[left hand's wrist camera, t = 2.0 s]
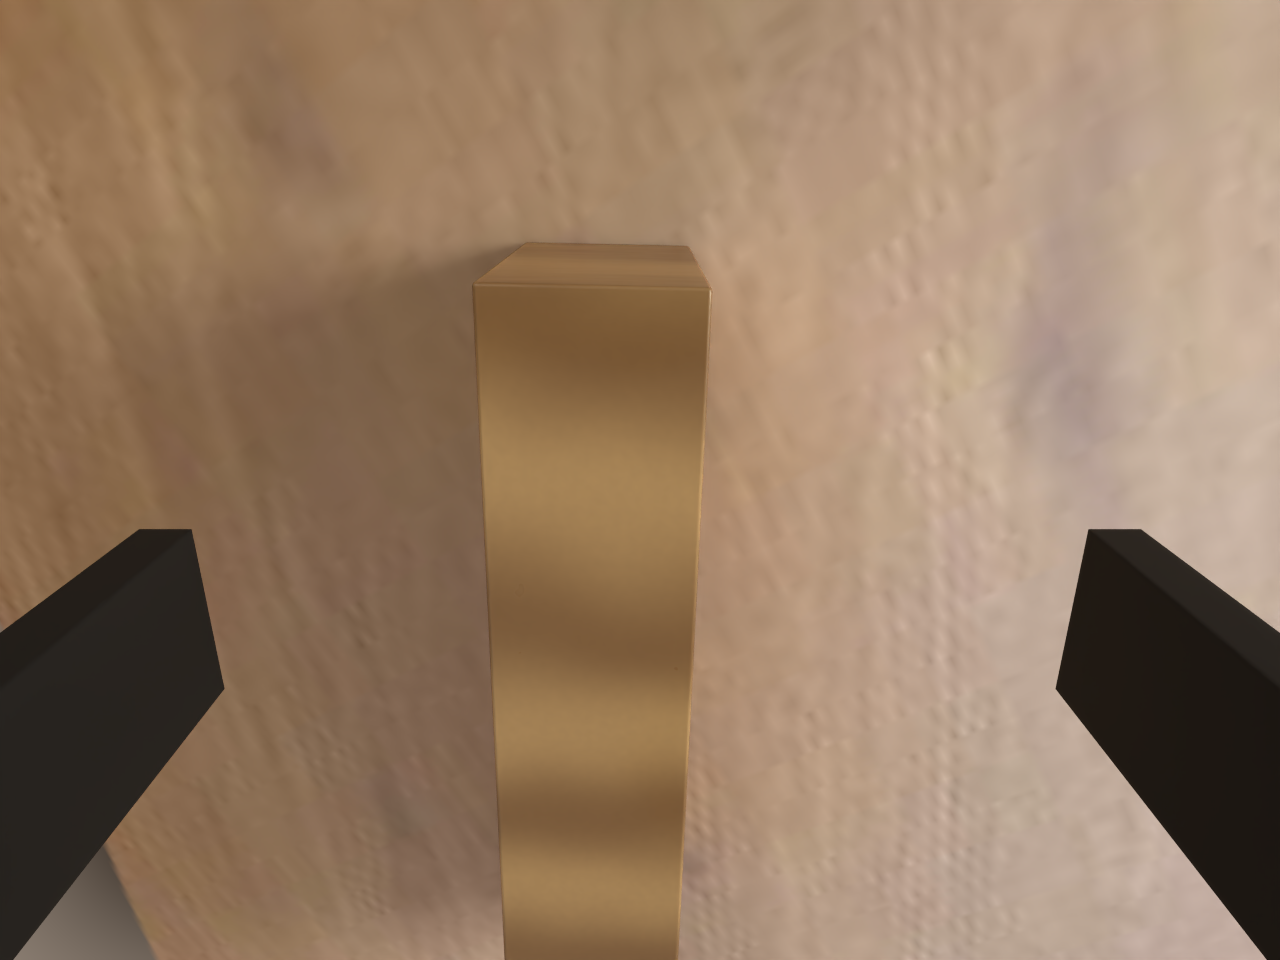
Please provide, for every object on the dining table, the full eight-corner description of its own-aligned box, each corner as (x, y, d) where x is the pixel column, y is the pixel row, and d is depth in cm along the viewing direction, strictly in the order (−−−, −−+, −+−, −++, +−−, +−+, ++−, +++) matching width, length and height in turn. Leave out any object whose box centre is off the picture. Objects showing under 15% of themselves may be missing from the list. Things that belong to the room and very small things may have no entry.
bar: (525, 242, 25) (471, 282, 17) (689, 245, 25) (712, 287, 17) (541, 883, 33) (511, 1107, 25) (663, 886, 33) (670, 1109, 26)
